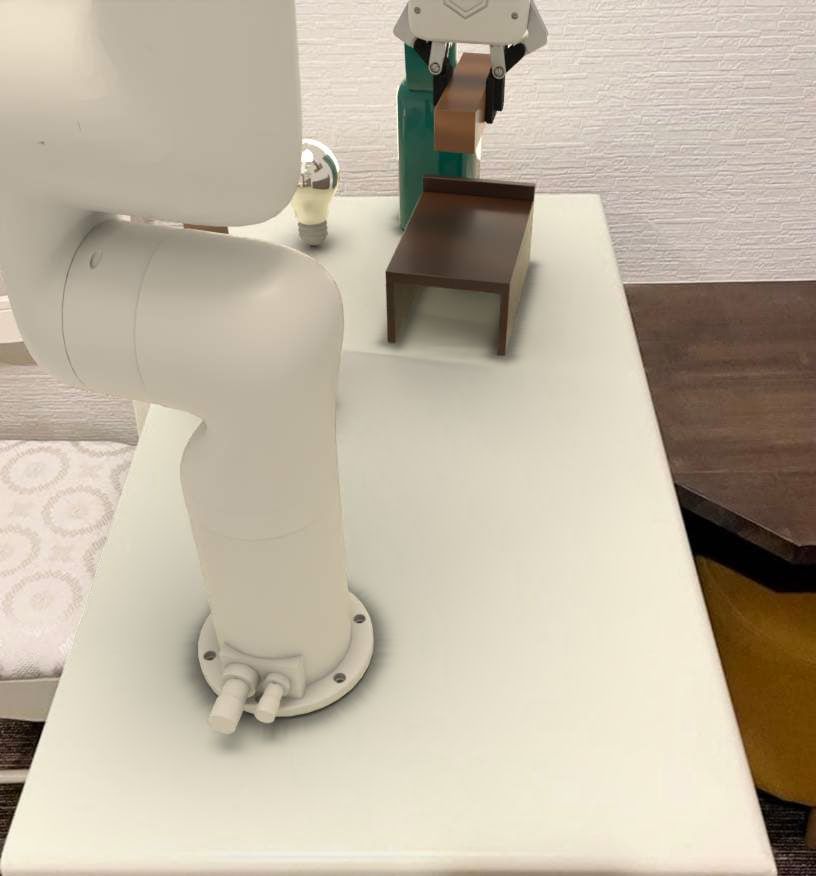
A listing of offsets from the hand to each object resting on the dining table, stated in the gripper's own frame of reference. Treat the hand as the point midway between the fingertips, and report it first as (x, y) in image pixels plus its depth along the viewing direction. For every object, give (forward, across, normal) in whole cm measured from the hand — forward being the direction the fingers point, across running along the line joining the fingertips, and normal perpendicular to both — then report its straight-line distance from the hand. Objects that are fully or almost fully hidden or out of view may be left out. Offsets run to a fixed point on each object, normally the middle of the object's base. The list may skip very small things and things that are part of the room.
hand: (468, 114), depth 91 cm
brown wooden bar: (+1, 0, 0) cm, 1 cm away
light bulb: (+20, -19, +9) cm, 29 cm away
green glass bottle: (+20, -6, +17) cm, 27 cm away
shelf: (+20, 0, 0) cm, 20 cm away
